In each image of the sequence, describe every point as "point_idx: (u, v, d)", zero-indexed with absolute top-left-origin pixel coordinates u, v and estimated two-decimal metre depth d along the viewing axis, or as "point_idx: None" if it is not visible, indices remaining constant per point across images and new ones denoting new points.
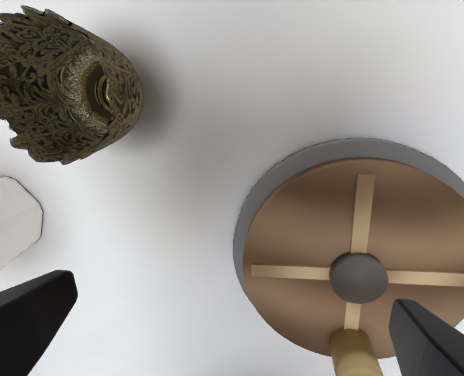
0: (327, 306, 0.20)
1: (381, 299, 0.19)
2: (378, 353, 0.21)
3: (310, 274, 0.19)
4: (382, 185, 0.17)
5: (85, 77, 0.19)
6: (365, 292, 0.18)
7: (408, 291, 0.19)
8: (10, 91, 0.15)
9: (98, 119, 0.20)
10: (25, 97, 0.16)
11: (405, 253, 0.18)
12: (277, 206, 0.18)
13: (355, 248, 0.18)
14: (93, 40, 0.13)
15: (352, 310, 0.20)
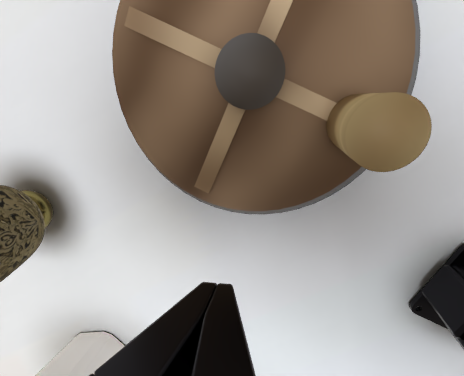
0: (285, 127, 0.15)
1: (303, 54, 0.14)
2: (396, 90, 0.14)
3: (229, 128, 0.15)
4: (148, 1, 0.14)
5: None
6: (268, 70, 0.14)
7: (303, 13, 0.13)
8: None
9: None
10: None
11: (244, 0, 0.14)
12: (138, 126, 0.17)
13: (212, 61, 0.14)
14: None
15: (301, 98, 0.14)
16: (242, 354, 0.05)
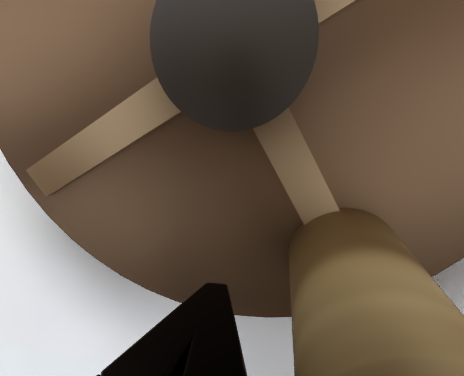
0: (234, 186, 0.08)
1: (350, 88, 0.06)
2: (435, 254, 0.07)
3: (138, 119, 0.07)
4: None
5: None
6: (269, 70, 0.06)
7: (407, 11, 0.06)
8: None
9: None
10: None
11: None
12: None
13: None
14: None
15: (291, 162, 0.07)
16: (234, 353, 0.05)
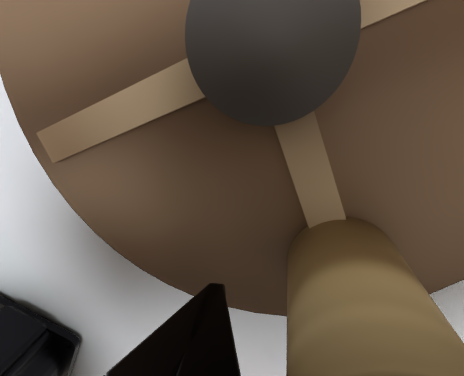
0: (245, 180, 0.08)
1: (377, 100, 0.06)
2: (431, 274, 0.07)
3: (159, 99, 0.07)
4: None
5: None
6: (302, 69, 0.06)
7: (448, 31, 0.06)
8: None
9: None
10: None
11: None
12: None
13: None
14: None
15: (306, 164, 0.07)
16: (228, 352, 0.05)
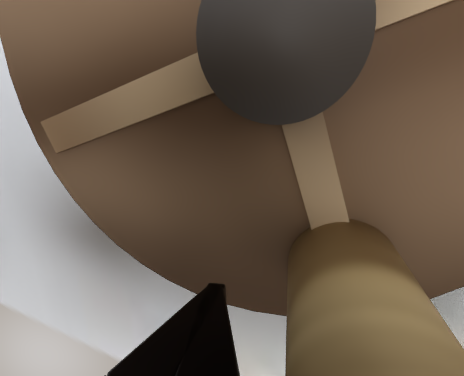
0: (250, 179, 0.08)
1: (387, 104, 0.06)
2: (431, 280, 0.07)
3: (167, 93, 0.07)
4: None
5: None
6: (314, 68, 0.06)
7: (462, 37, 0.06)
8: None
9: None
10: None
11: None
12: None
13: None
14: None
15: (312, 165, 0.07)
16: (227, 352, 0.05)
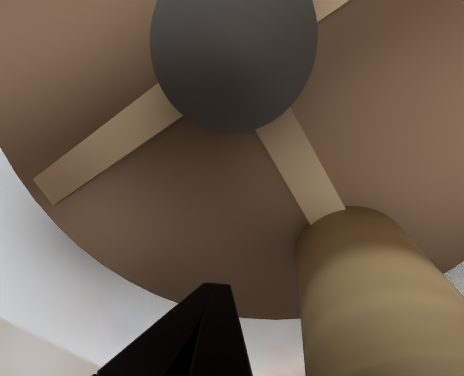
0: (239, 188, 0.08)
1: (351, 86, 0.06)
2: (446, 250, 0.07)
3: (141, 125, 0.07)
4: None
5: None
6: (269, 70, 0.06)
7: (406, 6, 0.06)
8: None
9: None
10: None
11: None
12: None
13: None
14: None
15: (294, 162, 0.07)
16: (239, 354, 0.05)
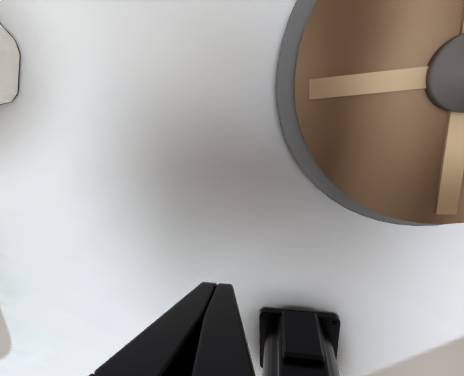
0: None
1: None
2: None
3: (460, 138, 0.14)
4: (325, 65, 0.14)
5: None
6: None
7: None
8: None
9: None
10: None
11: (432, 8, 0.12)
12: (350, 184, 0.16)
13: (418, 83, 0.13)
14: None
15: None
16: (242, 354, 0.05)
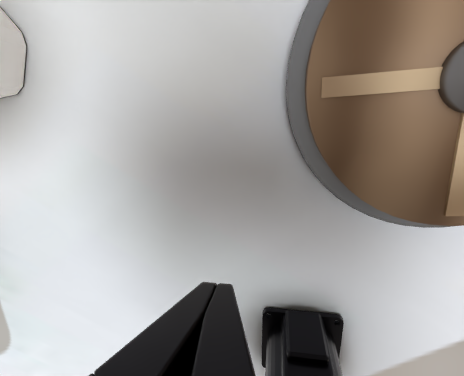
0: None
1: None
2: None
3: None
4: (338, 64, 0.14)
5: None
6: None
7: None
8: None
9: None
10: None
11: (449, 8, 0.12)
12: (359, 184, 0.15)
13: (432, 83, 0.13)
14: None
15: None
16: (242, 354, 0.05)
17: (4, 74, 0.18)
